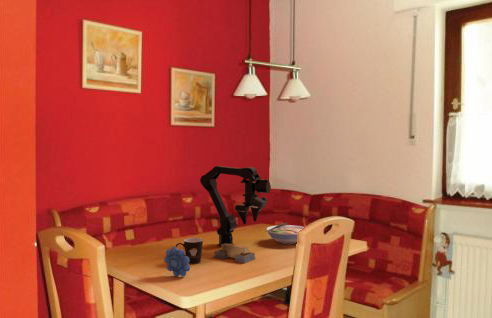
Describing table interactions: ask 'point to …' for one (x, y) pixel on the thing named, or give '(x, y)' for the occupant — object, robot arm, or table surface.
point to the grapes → (177, 261)
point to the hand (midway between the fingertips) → (250, 222)
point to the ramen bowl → (284, 233)
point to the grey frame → (238, 257)
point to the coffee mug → (193, 249)
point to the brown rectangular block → (234, 250)
